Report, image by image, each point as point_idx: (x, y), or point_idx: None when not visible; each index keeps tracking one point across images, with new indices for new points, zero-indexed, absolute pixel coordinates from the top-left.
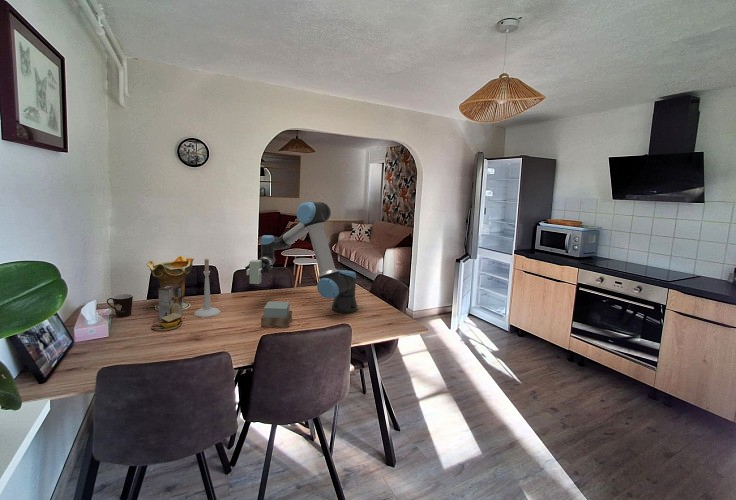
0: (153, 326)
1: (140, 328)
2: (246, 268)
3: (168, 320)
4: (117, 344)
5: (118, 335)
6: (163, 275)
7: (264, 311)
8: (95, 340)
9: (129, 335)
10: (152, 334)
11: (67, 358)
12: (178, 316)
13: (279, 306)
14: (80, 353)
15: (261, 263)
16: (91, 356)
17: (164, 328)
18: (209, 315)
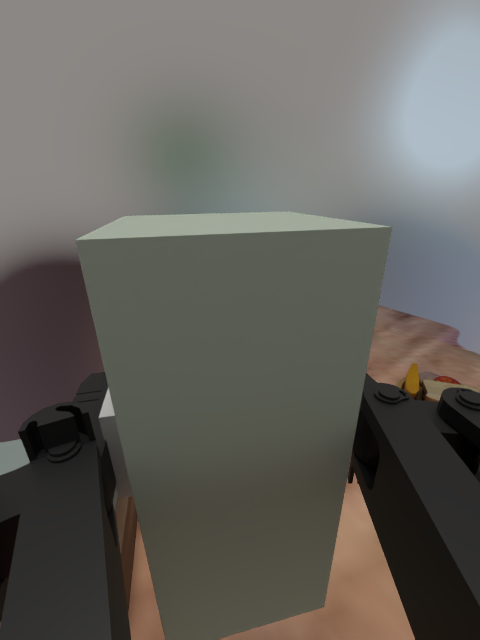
0: (444, 378)
1: (474, 380)
2: (430, 401)
3: (432, 382)
4: (398, 336)
5: (452, 353)
6: None
7: None
8: (451, 337)
9: (435, 356)
10: (402, 368)
11: (395, 311)
12: (438, 396)
13: (18, 464)
14: (402, 317)
15: (102, 356)
16: (377, 316)
17: (420, 389)
18: None
